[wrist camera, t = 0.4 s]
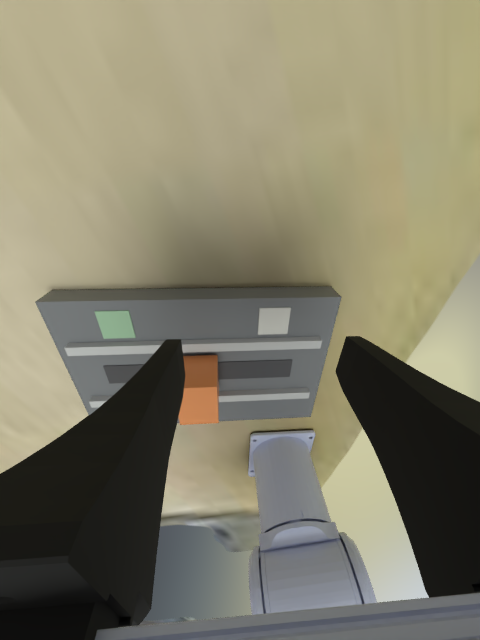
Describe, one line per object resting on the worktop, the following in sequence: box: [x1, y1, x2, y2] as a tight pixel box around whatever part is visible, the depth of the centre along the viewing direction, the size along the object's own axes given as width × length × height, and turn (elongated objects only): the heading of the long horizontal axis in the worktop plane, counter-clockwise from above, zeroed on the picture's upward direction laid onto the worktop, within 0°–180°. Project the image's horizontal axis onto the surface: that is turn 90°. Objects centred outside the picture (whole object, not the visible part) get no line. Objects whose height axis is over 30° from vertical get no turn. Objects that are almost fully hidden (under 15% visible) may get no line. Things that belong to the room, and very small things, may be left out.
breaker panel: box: [35, 286, 341, 423], centre depth 22 cm, size 14×22×3 cm, turn 89°
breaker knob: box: [179, 355, 219, 425], centre depth 20 cm, size 4×3×4 cm
